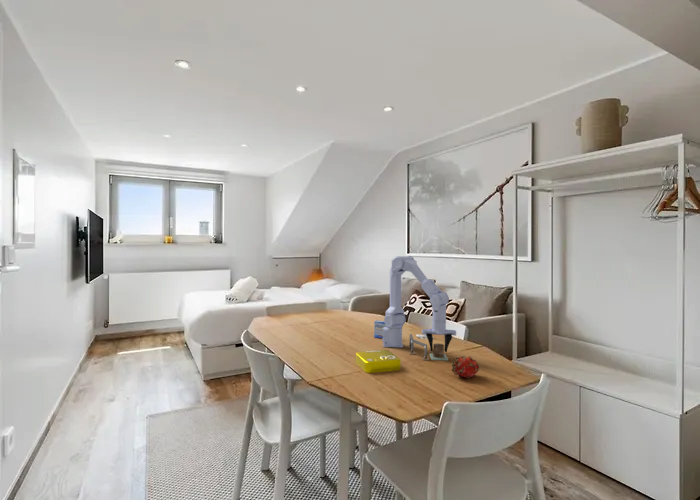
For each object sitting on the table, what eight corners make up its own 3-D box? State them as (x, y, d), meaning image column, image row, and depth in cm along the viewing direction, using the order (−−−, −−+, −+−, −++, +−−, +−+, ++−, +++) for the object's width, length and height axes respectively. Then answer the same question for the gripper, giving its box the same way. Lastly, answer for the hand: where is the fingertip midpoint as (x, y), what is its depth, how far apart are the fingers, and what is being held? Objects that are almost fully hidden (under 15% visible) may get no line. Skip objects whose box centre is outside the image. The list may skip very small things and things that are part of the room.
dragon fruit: (449, 382, 137) (475, 383, 141) (462, 375, 131) (489, 376, 135) (443, 359, 142) (469, 361, 146) (456, 351, 136) (482, 353, 140)
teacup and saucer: (415, 338, 196) (415, 331, 196) (419, 335, 203) (419, 328, 203) (431, 340, 192) (431, 333, 192) (435, 337, 199) (435, 330, 199)
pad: (431, 359, 159) (431, 358, 159) (429, 354, 167) (429, 353, 167) (448, 360, 158) (448, 359, 158) (445, 354, 166) (445, 353, 166)
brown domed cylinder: (433, 357, 160) (433, 346, 160) (431, 354, 165) (432, 343, 165) (445, 358, 160) (445, 346, 160) (443, 354, 165) (443, 343, 165)
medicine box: (373, 337, 195) (374, 321, 195) (375, 335, 200) (375, 319, 200) (388, 339, 193) (388, 322, 193) (390, 337, 197) (390, 320, 197)
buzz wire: (411, 359, 158) (411, 344, 158) (407, 346, 179) (408, 333, 179) (428, 360, 158) (429, 345, 158) (423, 347, 178) (423, 333, 178)
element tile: (387, 359, 160) (387, 348, 160) (402, 370, 146) (402, 358, 145) (354, 362, 155) (354, 350, 155) (366, 374, 141) (366, 361, 141)
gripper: (423, 321, 159) (422, 353, 159) (457, 322, 158) (457, 354, 158) (421, 318, 166) (421, 348, 166) (454, 319, 165) (454, 349, 165)
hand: (438, 351), depth 162 cm, fingers open, 5 cm apart
